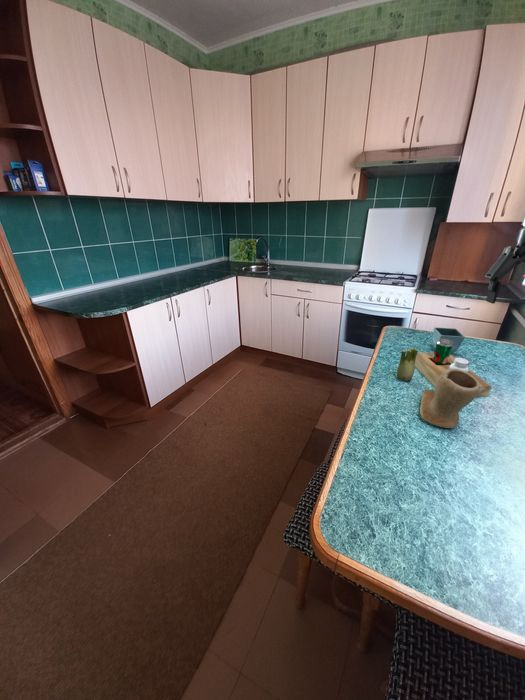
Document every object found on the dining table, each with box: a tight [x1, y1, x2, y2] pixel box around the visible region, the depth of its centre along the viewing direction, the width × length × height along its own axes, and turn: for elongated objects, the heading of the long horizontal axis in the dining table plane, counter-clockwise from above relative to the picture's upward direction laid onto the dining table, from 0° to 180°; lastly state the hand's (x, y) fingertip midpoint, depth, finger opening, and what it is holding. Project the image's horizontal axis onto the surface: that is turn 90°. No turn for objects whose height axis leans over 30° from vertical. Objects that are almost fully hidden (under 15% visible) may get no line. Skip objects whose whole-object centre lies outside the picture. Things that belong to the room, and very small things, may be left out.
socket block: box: [415, 352, 492, 398], centre depth 103 cm, size 14×24×4 cm, turn 2°
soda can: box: [432, 339, 453, 365], centre depth 106 cm, size 5×5×12 cm
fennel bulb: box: [396, 347, 419, 382], centre depth 101 cm, size 6×5×12 cm
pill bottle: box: [449, 357, 470, 373], centre depth 97 cm, size 5×5×10 cm
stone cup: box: [419, 369, 480, 429], centre depth 83 cm, size 15×12×15 cm
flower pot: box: [432, 327, 465, 355], centre depth 120 cm, size 9×9×9 cm
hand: (511, 301), depth 90 cm, fingers open, 13 cm apart
